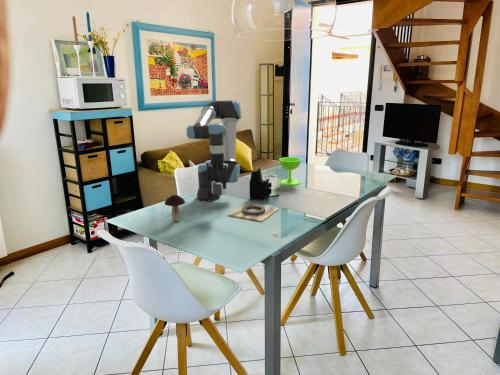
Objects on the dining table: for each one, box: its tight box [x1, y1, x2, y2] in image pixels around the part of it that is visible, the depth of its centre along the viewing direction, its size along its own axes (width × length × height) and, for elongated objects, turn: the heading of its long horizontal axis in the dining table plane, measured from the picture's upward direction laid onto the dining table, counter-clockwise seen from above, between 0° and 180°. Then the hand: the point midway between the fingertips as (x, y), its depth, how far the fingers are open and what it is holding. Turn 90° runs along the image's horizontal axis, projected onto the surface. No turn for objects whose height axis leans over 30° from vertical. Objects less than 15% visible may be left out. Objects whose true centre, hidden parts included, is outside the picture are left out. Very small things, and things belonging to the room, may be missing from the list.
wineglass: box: [278, 156, 302, 187], centre depth 263 cm, size 16×16×18 cm
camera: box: [248, 167, 273, 201], centre depth 229 cm, size 10×14×20 cm
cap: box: [213, 182, 223, 197], centre depth 200 cm, size 6×6×6 cm
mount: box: [227, 202, 280, 223], centre depth 207 cm, size 22×22×2 cm
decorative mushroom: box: [164, 194, 186, 222], centre depth 194 cm, size 11×11×15 cm
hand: (218, 193), depth 201 cm, fingers closed on cap, 6 cm apart
